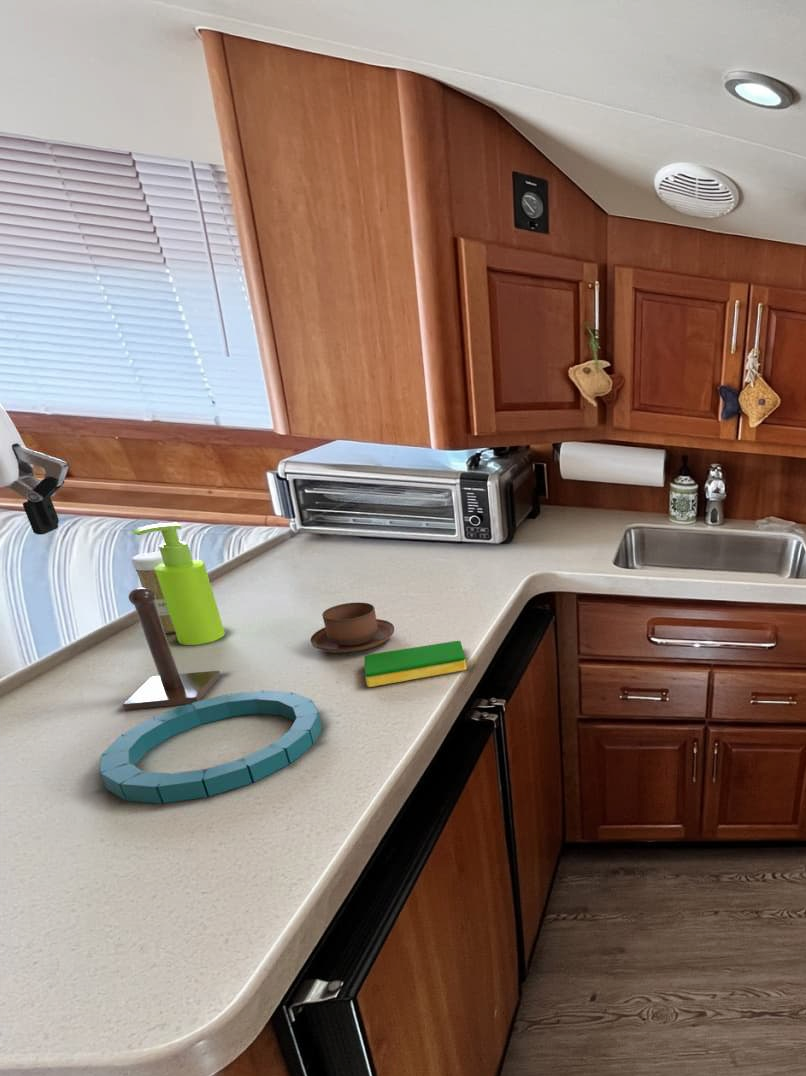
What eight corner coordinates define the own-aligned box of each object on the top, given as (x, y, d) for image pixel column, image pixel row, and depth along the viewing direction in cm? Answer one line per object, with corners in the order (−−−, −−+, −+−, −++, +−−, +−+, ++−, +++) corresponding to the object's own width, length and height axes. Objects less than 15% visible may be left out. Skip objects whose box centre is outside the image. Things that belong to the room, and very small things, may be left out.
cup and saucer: (297, 647, 107) (288, 614, 105) (368, 622, 118) (361, 592, 115) (341, 666, 103) (333, 632, 101) (411, 639, 113) (405, 607, 111)
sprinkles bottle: (176, 634, 108) (152, 560, 103) (148, 633, 108) (122, 558, 102) (199, 623, 112) (176, 551, 107) (172, 622, 112) (148, 550, 107)
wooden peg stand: (124, 710, 88) (82, 601, 82) (153, 682, 95) (116, 579, 88) (197, 703, 91) (162, 597, 84) (220, 675, 98) (189, 576, 91)
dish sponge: (367, 667, 103) (364, 654, 102) (461, 652, 110) (460, 639, 109) (367, 688, 98) (364, 674, 97) (467, 670, 105) (465, 657, 104)
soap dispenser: (165, 639, 106) (126, 524, 99) (218, 626, 112) (185, 517, 104) (176, 650, 103) (137, 533, 96) (230, 637, 109) (197, 525, 101)
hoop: (64, 818, 70) (56, 800, 69) (158, 716, 87) (152, 701, 86) (294, 784, 77) (289, 768, 76) (337, 697, 95) (334, 683, 94)
